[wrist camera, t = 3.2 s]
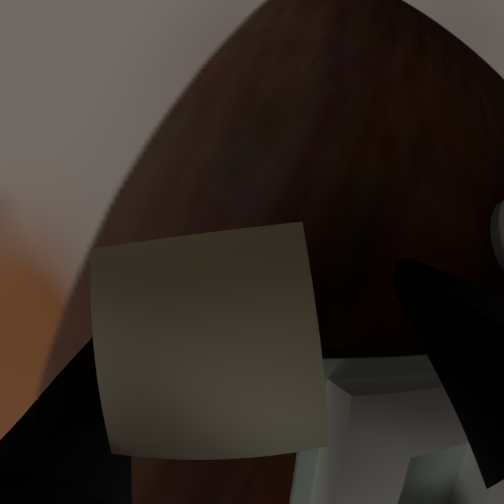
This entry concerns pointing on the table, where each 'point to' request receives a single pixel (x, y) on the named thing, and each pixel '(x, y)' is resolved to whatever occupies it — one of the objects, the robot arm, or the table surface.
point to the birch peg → (209, 345)
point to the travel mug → (498, 233)
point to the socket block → (390, 440)
